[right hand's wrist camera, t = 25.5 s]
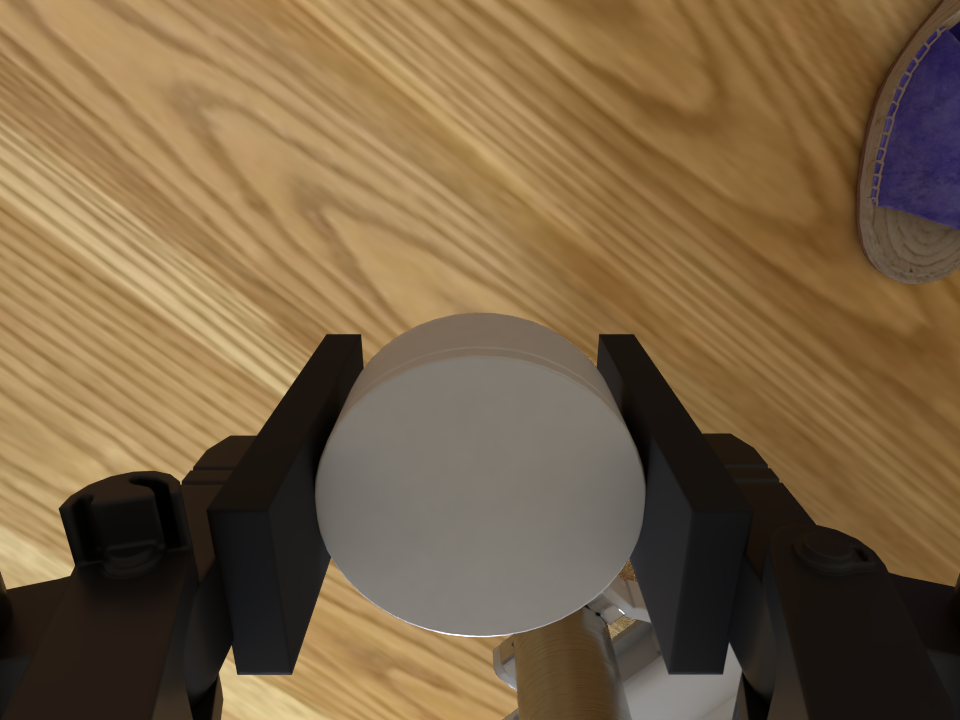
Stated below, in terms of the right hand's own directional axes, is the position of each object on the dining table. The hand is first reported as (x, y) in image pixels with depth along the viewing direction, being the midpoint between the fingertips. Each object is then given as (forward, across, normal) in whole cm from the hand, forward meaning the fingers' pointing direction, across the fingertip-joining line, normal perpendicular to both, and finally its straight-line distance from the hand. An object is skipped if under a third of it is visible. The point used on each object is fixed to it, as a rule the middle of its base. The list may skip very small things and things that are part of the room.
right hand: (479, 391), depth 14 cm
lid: (-4, 0, 0) cm, 4 cm away
